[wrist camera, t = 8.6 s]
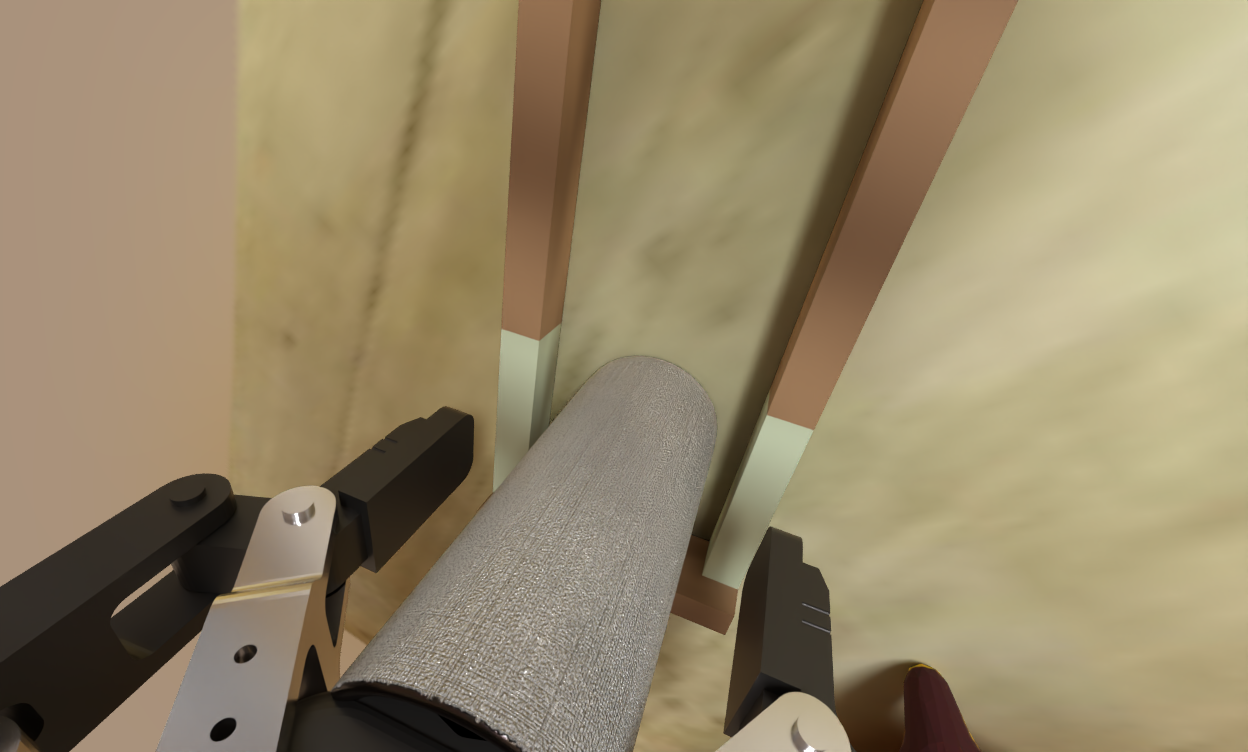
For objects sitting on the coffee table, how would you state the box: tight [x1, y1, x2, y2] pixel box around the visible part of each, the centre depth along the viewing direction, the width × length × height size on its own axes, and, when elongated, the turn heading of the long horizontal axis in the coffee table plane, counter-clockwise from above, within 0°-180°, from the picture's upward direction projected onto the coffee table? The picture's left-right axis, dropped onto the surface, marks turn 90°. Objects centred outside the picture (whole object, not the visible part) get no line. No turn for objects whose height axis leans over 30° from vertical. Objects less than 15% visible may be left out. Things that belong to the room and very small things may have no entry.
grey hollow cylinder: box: [331, 356, 717, 752], centre depth 11 cm, size 4×4×10 cm
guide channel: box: [477, 0, 1018, 635], centre depth 13 cm, size 18×9×2 cm, turn 169°
